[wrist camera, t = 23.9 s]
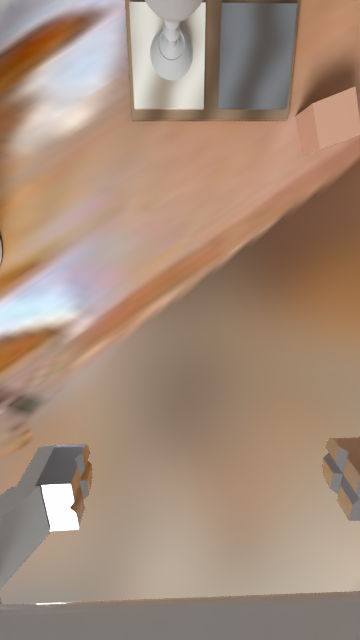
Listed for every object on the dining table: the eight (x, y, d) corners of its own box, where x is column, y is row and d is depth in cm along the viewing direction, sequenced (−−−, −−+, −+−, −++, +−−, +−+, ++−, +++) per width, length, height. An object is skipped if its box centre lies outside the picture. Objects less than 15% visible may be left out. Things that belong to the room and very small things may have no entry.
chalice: (128, 50, 34) (87, -107, 18) (170, -2, 33) (170, -227, 16) (172, 104, 36) (173, 11, 20) (213, 58, 35) (253, -87, 18)
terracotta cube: (302, 157, 40) (320, 149, 36) (295, 116, 39) (312, 103, 34) (338, 143, 40) (361, 134, 35) (332, 101, 38) (355, 86, 34)
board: (132, 121, 38) (130, 117, 37) (126, -1, 34) (123, -11, 33) (285, 121, 39) (289, 117, 37) (296, 1, 35) (302, -9, 33)
